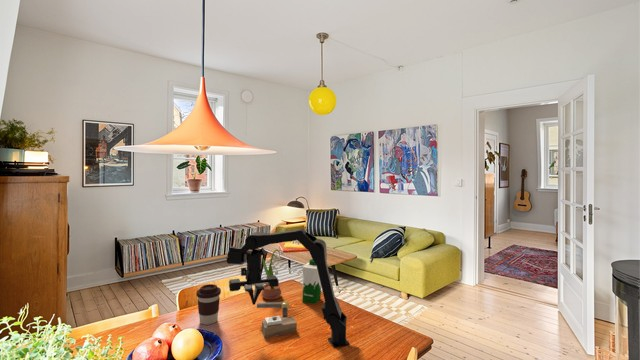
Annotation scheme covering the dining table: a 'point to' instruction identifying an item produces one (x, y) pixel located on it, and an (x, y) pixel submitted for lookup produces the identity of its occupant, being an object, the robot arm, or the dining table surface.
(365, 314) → the dining table surface
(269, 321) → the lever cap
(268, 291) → the potted flower
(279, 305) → the lever
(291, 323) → the grey lever base
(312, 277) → the milk carton
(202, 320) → the coffee cup
